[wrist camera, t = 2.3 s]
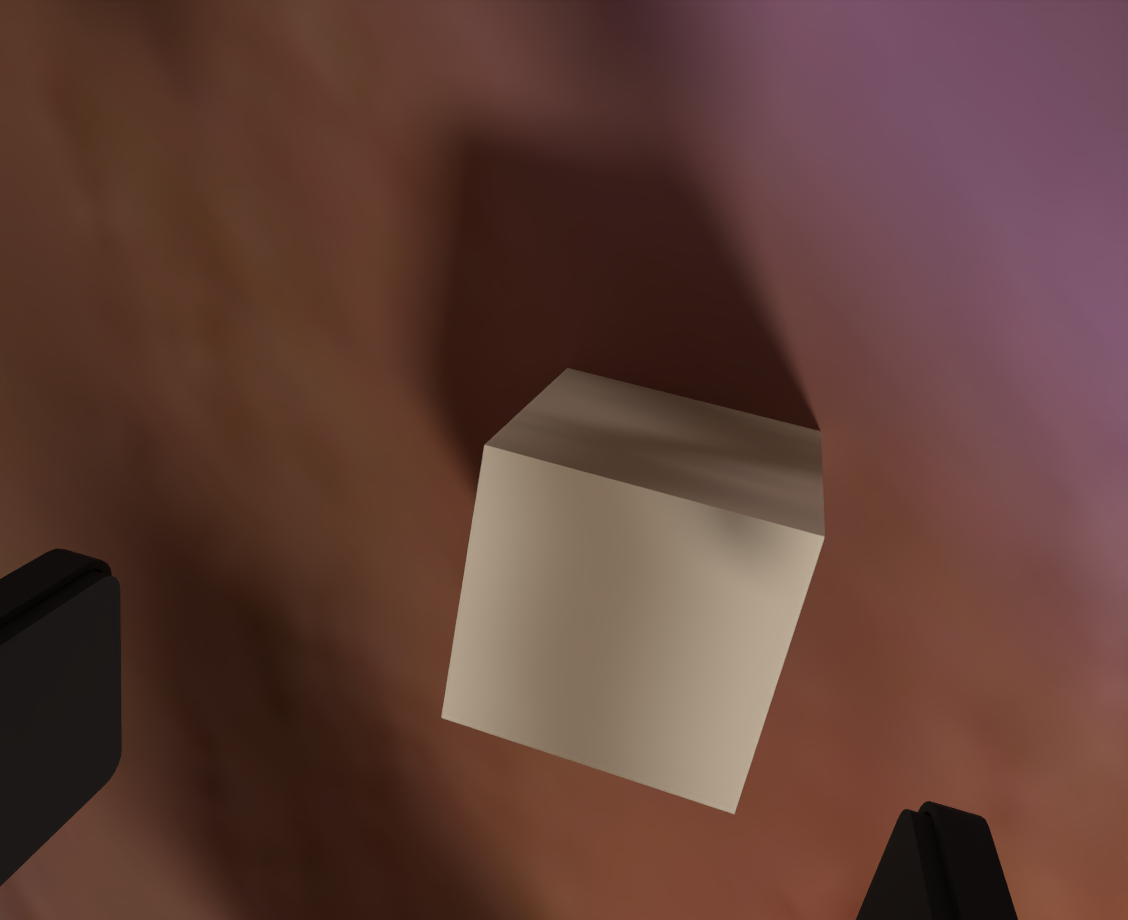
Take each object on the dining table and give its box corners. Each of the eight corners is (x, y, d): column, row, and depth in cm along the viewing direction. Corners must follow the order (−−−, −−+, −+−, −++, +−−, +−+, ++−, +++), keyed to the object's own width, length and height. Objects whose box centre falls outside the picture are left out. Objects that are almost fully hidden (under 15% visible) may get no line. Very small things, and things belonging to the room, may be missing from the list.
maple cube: (820, 430, 17) (825, 536, 12) (752, 650, 19) (734, 814, 14) (568, 366, 18) (484, 444, 13) (527, 583, 20) (441, 717, 15)
